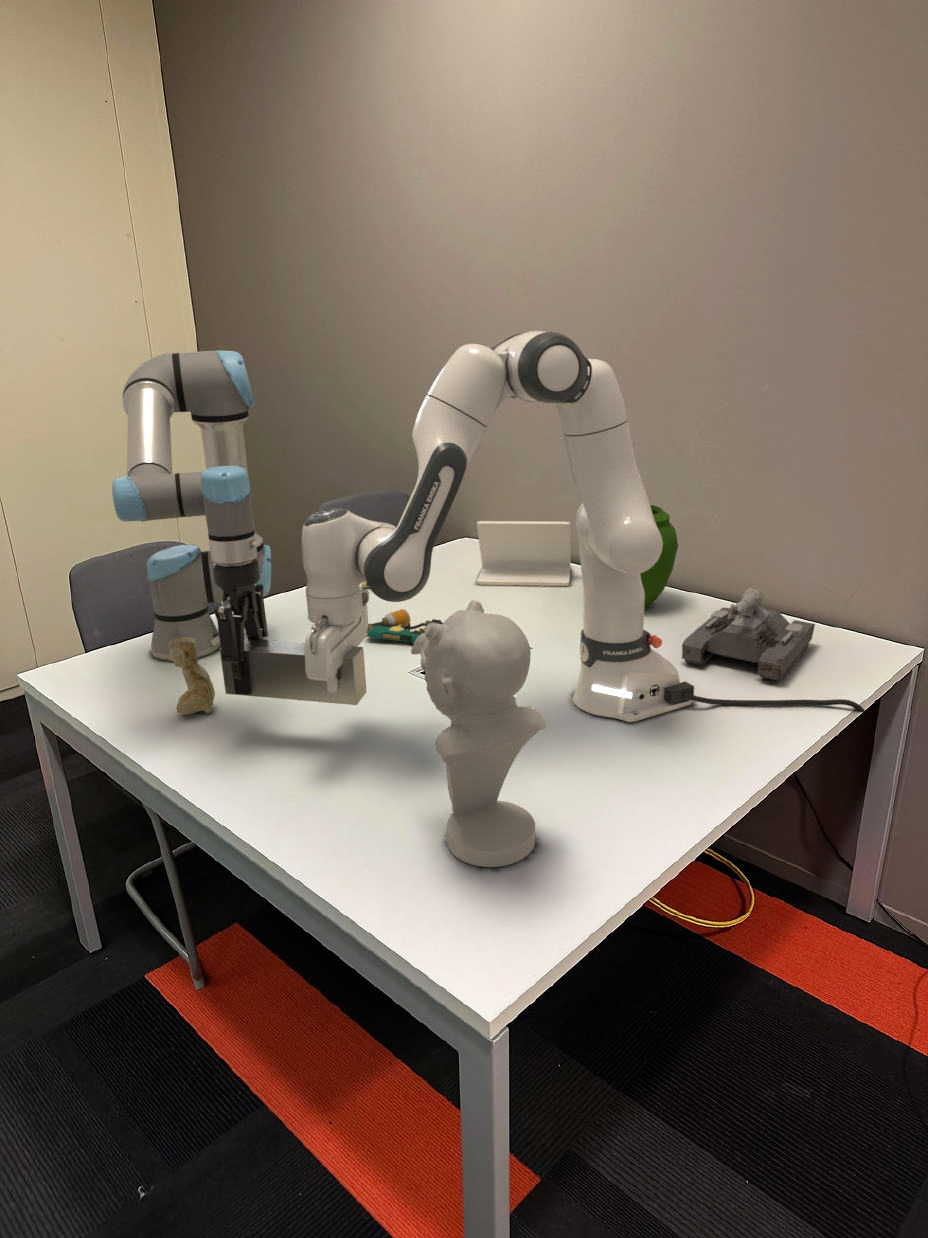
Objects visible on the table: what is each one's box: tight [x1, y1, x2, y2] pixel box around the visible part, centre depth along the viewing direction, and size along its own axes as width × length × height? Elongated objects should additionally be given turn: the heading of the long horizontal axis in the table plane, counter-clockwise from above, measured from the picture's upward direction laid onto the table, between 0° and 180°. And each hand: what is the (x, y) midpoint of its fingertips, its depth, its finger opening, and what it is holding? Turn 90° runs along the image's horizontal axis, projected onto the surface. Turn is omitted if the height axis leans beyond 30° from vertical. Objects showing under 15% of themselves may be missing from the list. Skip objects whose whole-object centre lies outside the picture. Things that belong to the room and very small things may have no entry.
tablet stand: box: [476, 520, 572, 587], centre depth 236 cm, size 18×25×17 cm
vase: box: [640, 504, 679, 609], centre depth 210 cm, size 20×20×24 cm
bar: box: [219, 638, 368, 706], centre depth 148 cm, size 24×5×9 cm, turn 77°
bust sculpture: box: [410, 599, 547, 868], centre depth 121 cm, size 16×24×35 cm
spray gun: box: [366, 608, 445, 645], centre depth 198 cm, size 4×17×15 cm
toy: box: [681, 587, 816, 682], centre depth 180 cm, size 25×20×15 cm
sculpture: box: [168, 637, 216, 716], centre depth 162 cm, size 6×7×15 cm
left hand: (250, 686), depth 151 cm, fingers closed on bar, 5 cm apart
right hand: (341, 682), depth 146 cm, fingers closed on bar, 5 cm apart
